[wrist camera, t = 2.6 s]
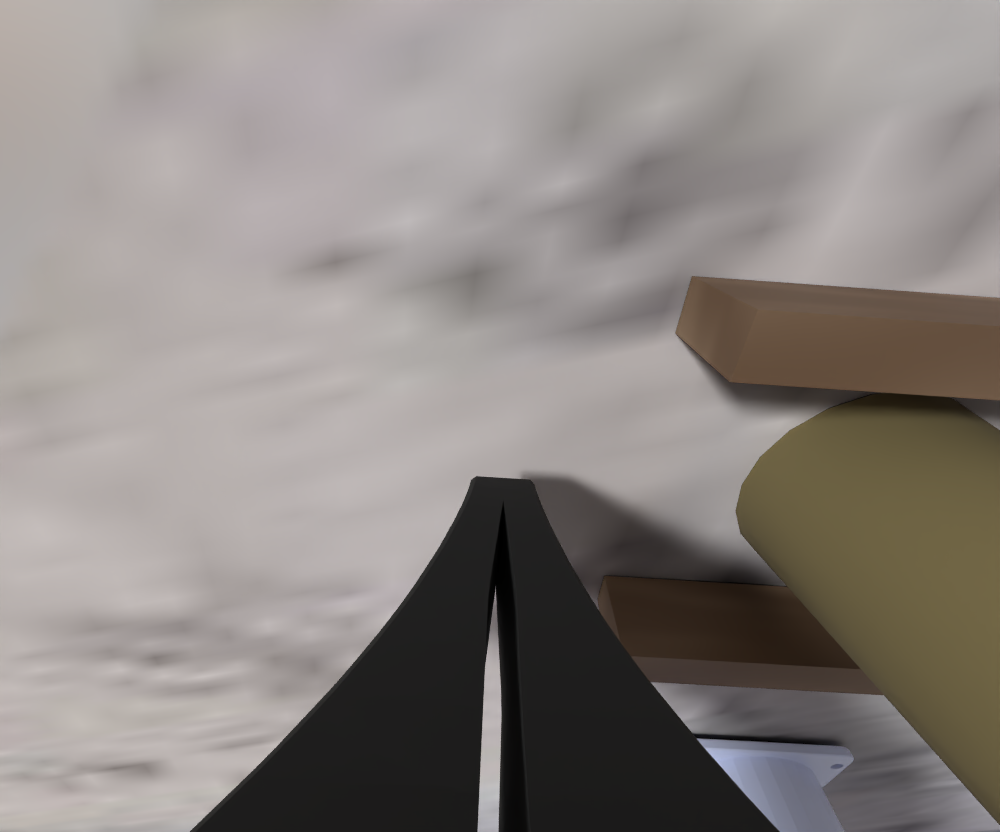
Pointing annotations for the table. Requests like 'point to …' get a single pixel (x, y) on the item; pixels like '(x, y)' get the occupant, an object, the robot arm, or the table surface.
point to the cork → (897, 559)
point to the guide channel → (800, 363)
